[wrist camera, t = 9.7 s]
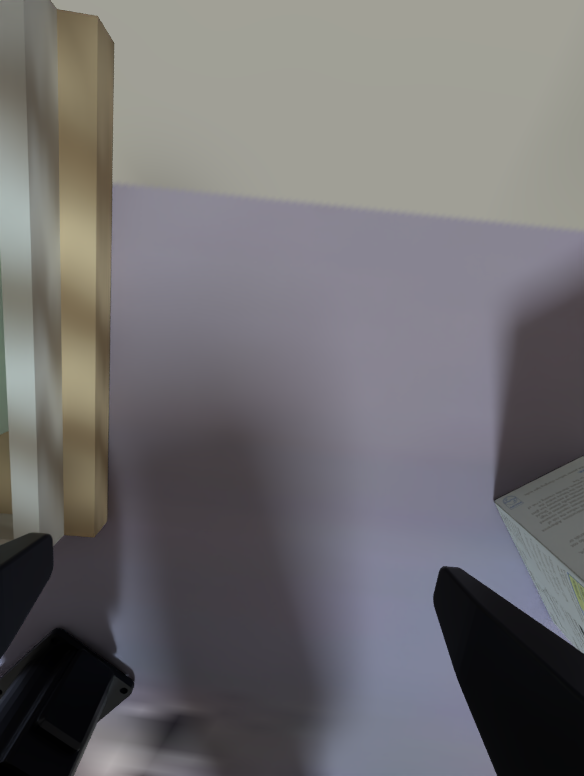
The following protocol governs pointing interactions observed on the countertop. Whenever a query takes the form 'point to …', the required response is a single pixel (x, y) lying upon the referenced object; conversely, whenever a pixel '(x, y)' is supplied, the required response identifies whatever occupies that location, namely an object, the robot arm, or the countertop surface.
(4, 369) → the door panel
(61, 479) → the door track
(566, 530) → the light bulb box
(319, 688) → the countertop surface
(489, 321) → the countertop surface
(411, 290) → the countertop surface
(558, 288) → the countertop surface
